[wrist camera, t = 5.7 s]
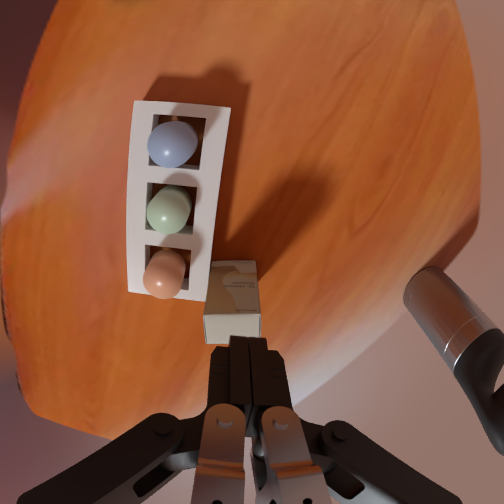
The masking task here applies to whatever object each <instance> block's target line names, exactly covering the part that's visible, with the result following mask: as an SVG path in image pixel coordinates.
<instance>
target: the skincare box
mask: <svg viewBox="0 0 504 504" xmlns="http://www.w3.org/2000/svg"><path fill="white" fill-rule="evenodd" d="M203 320H204V334H205V342H206V343H207V344H229V338H230V335H235V336H246V337H260V338H261V310H260V299H259V289H258V279H257V269H256V261H254V260H228V261H212V263H211V269H210V275H209V281H208V288H207V294H206V301H205V308H204V314H203Z"/></svg>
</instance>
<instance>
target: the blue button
mask: <svg viewBox="0 0 504 504" xmlns="http://www.w3.org/2000/svg"><path fill="white" fill-rule="evenodd" d="M197 145H198V137H197V133H196V131H195V130H194V128H193V127H192V126H191V125H190V124H188V123H186V122H183V121H172V122H166V123H162V124H160V125H158V126H157V127H156V128H155V129H154V130H153V131H152V132H151V134H150V136H149V138H148V143H147V148H148V153H149V155H150V157H151V159H152V160H153V161H154V162H155V163H156V164H158V165H159V166H162V167H165V168H175V167H178V166H180V165H182V164H184V163H185V162H186V161H187V160H188V159H189V158H190V157H191V156H192V155H193V154H194V152H195V150H196V148H197Z"/></svg>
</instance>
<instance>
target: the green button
mask: <svg viewBox="0 0 504 504" xmlns="http://www.w3.org/2000/svg"><path fill="white" fill-rule="evenodd" d="M191 209H192V200H191V197H190V195H189V194H188V192H187V191H186V190H185V189H183V188H182V187H179V186H175V185H170V186H166V187H164V188H162V189H161V190H160V191H159V192H158V193H157V194H156V195H155V197H154V198H153V199H152V200H151V201H150V203H149V204H148V207H147V212H146V213H147V219H148V222H149V224H150V225H151V226H152V227H153V228H154V229H155V230H156V231H158V232H160V233H163V234H173V233H176V232H178V231H180V230H181V229H182V228H183V227H184V225H185V224H186V222H187V219H188V216H189V214H190V212H191Z"/></svg>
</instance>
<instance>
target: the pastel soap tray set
mask: <svg viewBox="0 0 504 504" xmlns="http://www.w3.org/2000/svg"><path fill="white" fill-rule="evenodd" d="M230 113H231V108H228V107H220V106H211V105H201V104H190V103H177V102H160V101H134V107H133V115H132V125H131V135H130V147H129V161H128V179H127V213H126V238H127V272H128V291H129V292H135V293H142V294H149V295H151V294H150V293H149V292H148V291H147V290H146V289H145V287H144V284H143V275H144V272H145V270H146V268H147V266H148V264H149V262H150V245H153V246H162V247H170V248H179V249H187V250H191V261H190V275H189V279H188V278H183V282H182V286H181V289H180V291H179V293H178V294H177V295H176V296H174V297H172V298H179V299H187V300H196V301H204V302H205V301H206V294H207V288H208V280H209V271H210V261H211V252H212V244H213V235H214V227H215V219H216V211H217V203H218V195H219V187H220V180H221V173H222V166H223V159H224V152H225V145H226V138H227V132H228V125H229V119H230ZM159 115H175V116H188V117H199V118H206V123H205V130H204V138H203V145H202V153H201V161H200V166H198V165H189V164H182V165H180V166H178V167H175V168H165V167H162V166H159V165H158V164H156V163H155V162H154V161H153V160H152V159H151V157H150V155H149V153H148V148H147V143H148V138H149V136H150V134H151V132H152V131H153V130H154V129H155V128H156V127H157V126H158V123H159ZM153 183H161V184H172V185H181V186H191V187H197V195H196V205H195V215H194V225H193V226H188V225H184V227H183V228H182V229H181V230H180V231H178V232H176V233H173V234H163V233H160V232H158V231H156V230H155V229H154V228H153V227H152V226H151V225H150V224H149V222H148V219H147V213H146V212H147V207H148V204H149V203H150V201H151V200H152V190H153Z"/></svg>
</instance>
